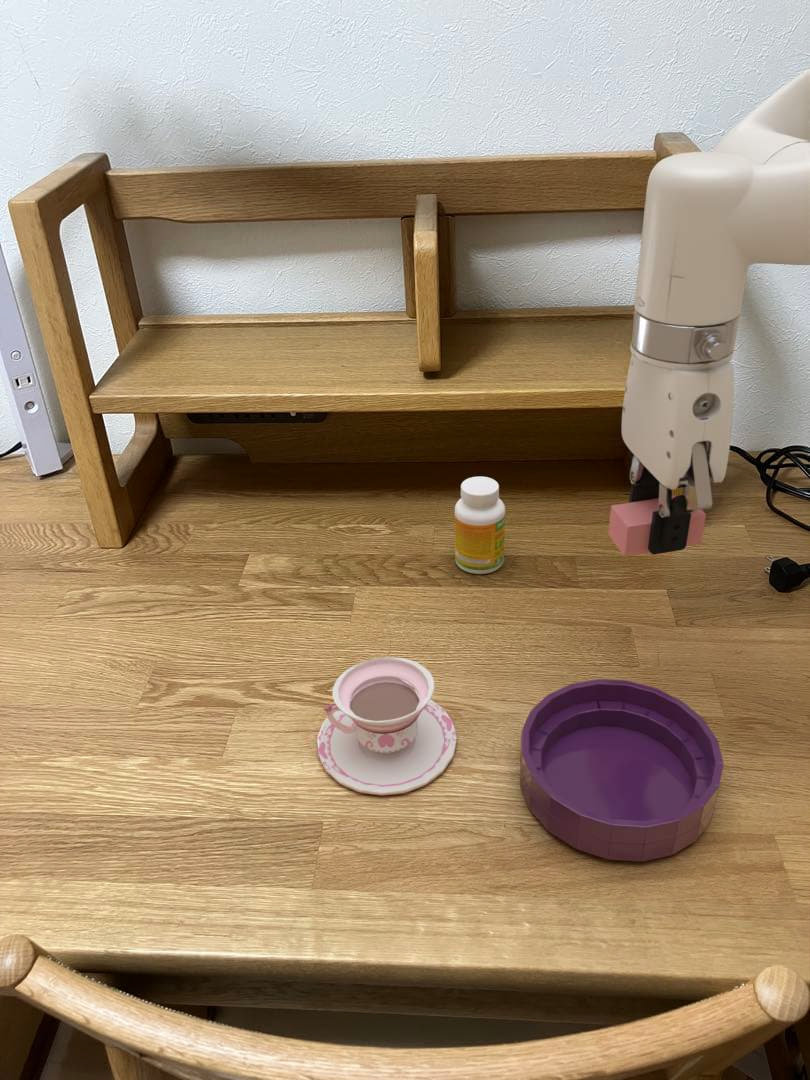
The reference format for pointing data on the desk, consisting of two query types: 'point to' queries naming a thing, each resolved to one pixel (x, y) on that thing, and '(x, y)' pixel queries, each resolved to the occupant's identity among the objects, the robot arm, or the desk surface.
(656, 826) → the bowl
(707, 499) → the robot arm
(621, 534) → the eraser
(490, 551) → the supplement bottle
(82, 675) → the desk surface
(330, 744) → the teacup
